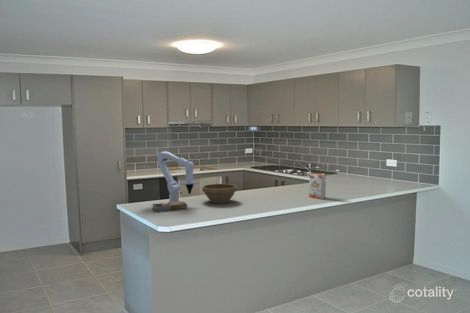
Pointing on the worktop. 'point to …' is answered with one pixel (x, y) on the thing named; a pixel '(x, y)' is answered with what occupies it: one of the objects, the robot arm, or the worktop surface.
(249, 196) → the worktop surface
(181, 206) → the walnut board
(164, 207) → the charcoal tray
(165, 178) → the robot arm
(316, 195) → the cracker box
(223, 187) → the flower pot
